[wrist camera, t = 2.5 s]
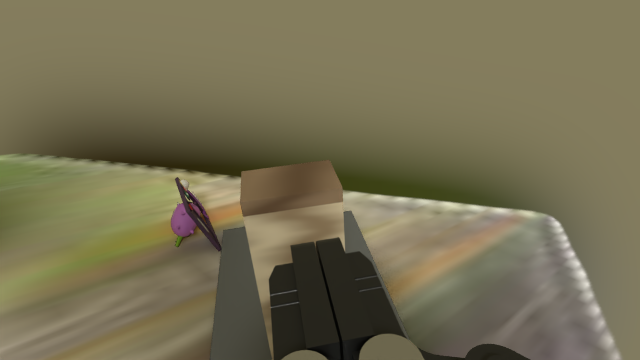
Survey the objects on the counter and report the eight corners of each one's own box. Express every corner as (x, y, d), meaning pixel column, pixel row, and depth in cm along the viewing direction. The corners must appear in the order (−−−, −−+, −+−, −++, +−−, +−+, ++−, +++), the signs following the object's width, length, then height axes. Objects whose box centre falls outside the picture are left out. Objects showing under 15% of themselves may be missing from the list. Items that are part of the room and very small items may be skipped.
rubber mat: (203, 442, 24) (201, 437, 24) (224, 234, 45) (223, 230, 44) (431, 392, 26) (431, 387, 26) (351, 214, 47) (351, 210, 46)
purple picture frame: (195, 206, 38) (182, 173, 46) (150, 234, 37) (144, 196, 45) (227, 246, 42) (211, 210, 49) (188, 273, 41) (176, 232, 48)
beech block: (273, 367, 28) (240, 202, 21) (271, 325, 32) (241, 171, 24) (349, 352, 29) (342, 187, 22) (338, 312, 32) (329, 159, 25)
